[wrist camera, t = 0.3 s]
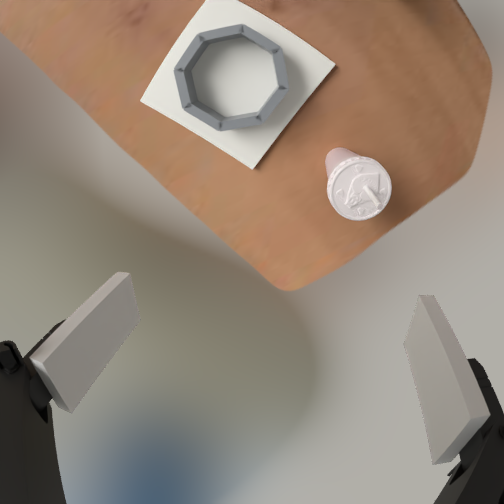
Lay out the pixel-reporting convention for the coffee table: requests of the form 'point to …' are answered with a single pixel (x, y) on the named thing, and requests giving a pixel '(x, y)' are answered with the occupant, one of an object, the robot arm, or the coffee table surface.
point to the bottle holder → (236, 78)
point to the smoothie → (356, 184)
